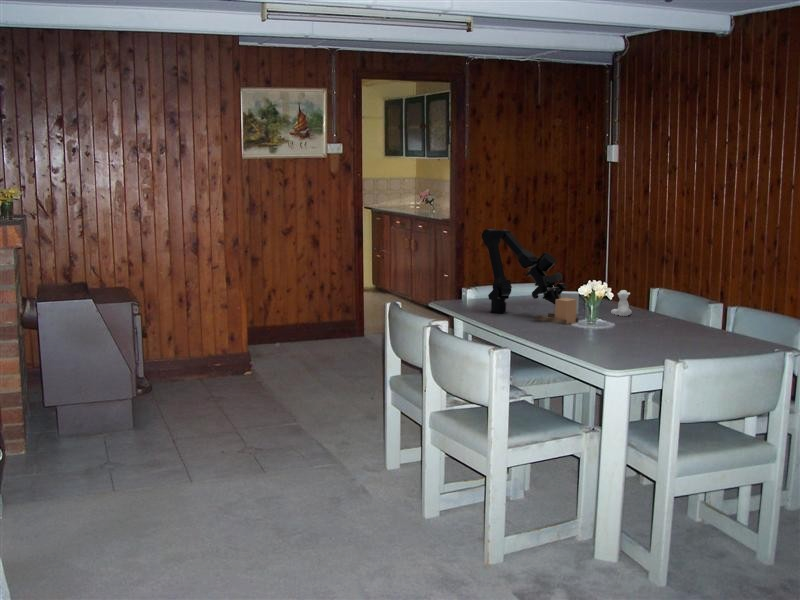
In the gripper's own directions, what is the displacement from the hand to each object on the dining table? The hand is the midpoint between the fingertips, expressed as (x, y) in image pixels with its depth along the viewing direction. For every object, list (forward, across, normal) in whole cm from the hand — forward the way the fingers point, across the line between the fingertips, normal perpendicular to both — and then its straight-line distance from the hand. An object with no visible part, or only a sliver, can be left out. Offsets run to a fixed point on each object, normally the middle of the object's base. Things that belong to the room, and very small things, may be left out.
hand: (559, 305), depth 382 cm
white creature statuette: (+11, +39, +1) cm, 41 cm away
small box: (-2, +21, +13) cm, 25 cm away
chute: (+5, 0, +6) cm, 8 cm away
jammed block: (+7, 0, +2) cm, 8 cm away
